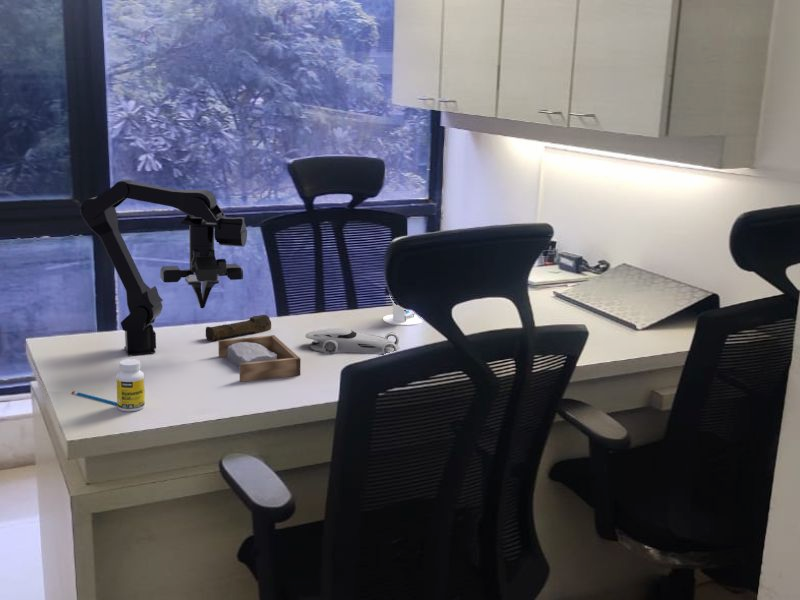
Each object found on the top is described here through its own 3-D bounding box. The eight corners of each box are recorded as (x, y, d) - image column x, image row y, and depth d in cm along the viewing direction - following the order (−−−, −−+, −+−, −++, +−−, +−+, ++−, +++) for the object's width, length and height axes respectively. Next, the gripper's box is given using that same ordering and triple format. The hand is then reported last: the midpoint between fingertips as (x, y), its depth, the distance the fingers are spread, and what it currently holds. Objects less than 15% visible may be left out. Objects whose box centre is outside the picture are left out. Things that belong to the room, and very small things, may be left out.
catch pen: (240, 381, 201) (240, 364, 200) (218, 356, 218) (218, 340, 217) (300, 375, 207) (300, 358, 206) (274, 350, 224) (274, 335, 223)
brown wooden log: (211, 343, 229) (211, 326, 228) (204, 339, 232) (204, 322, 231) (276, 333, 241) (276, 316, 240) (268, 329, 244) (268, 312, 243)
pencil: (74, 393, 191) (74, 390, 191) (134, 409, 183) (134, 406, 183) (71, 395, 190) (71, 391, 190) (131, 411, 182) (131, 407, 182)
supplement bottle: (119, 413, 180) (117, 367, 178) (116, 404, 185) (114, 359, 182) (147, 410, 182) (145, 364, 180) (143, 401, 187) (141, 356, 184)
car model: (399, 357, 223) (400, 338, 222) (302, 353, 224) (302, 333, 223) (401, 344, 234) (402, 326, 233) (308, 340, 235) (308, 322, 234)
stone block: (260, 360, 223) (222, 358, 217) (263, 342, 222) (226, 339, 216) (280, 376, 213) (242, 374, 208) (284, 357, 213) (246, 354, 207)
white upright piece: (411, 328, 249) (413, 275, 245) (375, 322, 253) (376, 270, 250) (429, 318, 259) (431, 267, 256) (393, 313, 264) (395, 263, 260)
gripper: (166, 251, 202) (167, 318, 205) (248, 249, 209) (248, 314, 213) (159, 242, 211) (160, 306, 215) (238, 240, 219) (237, 302, 222)
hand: (202, 307), depth 216 cm, fingers closed
